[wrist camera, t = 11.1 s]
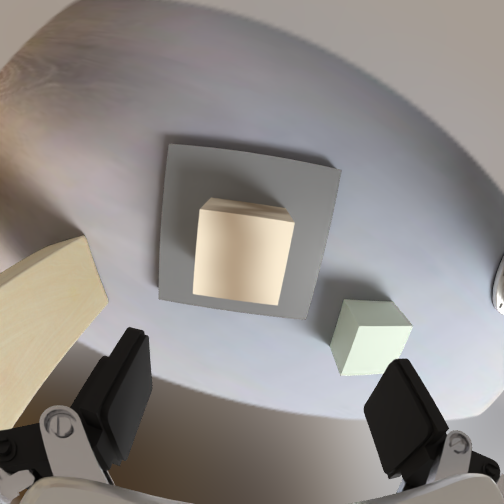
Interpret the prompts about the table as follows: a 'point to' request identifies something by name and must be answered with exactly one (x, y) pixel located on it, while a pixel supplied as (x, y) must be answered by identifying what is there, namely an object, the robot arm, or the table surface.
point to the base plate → (253, 191)
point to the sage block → (368, 336)
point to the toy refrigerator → (43, 318)
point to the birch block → (242, 251)
